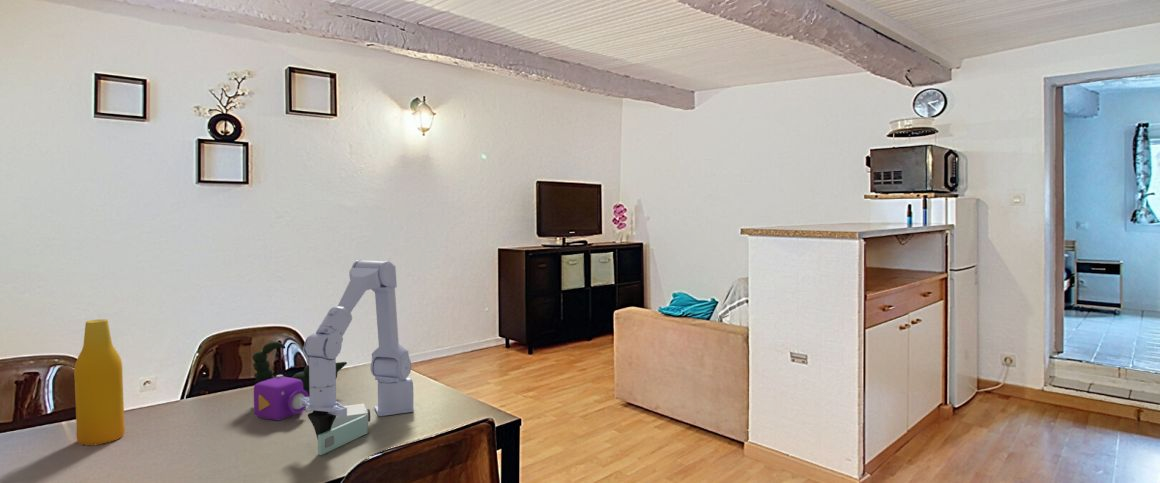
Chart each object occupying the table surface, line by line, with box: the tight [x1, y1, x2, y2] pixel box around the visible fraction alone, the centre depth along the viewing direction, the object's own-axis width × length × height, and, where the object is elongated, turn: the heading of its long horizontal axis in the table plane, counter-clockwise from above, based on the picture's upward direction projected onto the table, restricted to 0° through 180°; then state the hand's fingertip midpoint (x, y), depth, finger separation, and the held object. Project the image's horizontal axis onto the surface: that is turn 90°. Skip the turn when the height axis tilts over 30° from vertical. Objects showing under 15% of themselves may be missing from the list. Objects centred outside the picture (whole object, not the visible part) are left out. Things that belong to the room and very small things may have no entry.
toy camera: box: [253, 374, 309, 421], centre depth 167 cm, size 11×14×10 cm
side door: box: [317, 414, 369, 456], centre depth 148 cm, size 16×1×5 cm, turn 156°
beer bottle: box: [73, 318, 126, 446], centre depth 148 cm, size 9×9×29 cm
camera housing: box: [331, 402, 371, 429], centre depth 157 cm, size 11×8×6 cm
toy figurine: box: [252, 341, 348, 397], centre depth 181 cm, size 9×19×25 cm
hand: (323, 441), depth 144 cm, fingers closed
